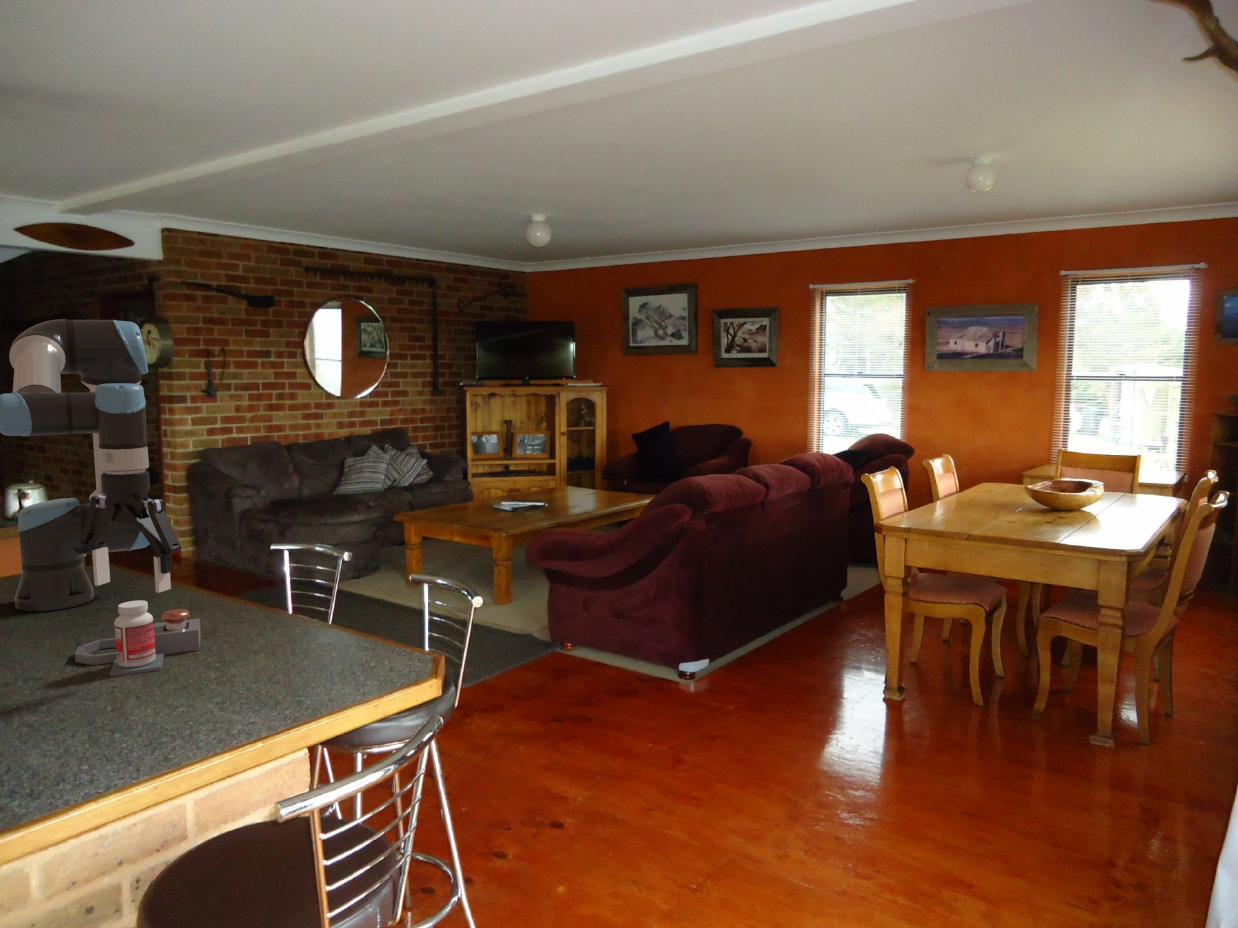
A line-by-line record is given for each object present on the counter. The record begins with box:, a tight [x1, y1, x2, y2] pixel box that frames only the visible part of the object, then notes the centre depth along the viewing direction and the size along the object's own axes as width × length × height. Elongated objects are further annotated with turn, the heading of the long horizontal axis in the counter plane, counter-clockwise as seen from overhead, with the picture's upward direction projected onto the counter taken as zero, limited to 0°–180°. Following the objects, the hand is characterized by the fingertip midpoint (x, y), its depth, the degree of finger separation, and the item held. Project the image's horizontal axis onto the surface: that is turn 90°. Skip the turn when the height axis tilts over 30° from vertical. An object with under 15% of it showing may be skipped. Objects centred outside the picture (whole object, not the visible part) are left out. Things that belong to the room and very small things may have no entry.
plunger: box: [160, 608, 190, 631], centre depth 168 cm, size 5×5×6 cm
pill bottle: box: [113, 599, 156, 667], centre depth 157 cm, size 6×6×11 cm
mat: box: [109, 653, 165, 677], centre depth 158 cm, size 8×8×1 cm
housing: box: [74, 618, 202, 666], centre depth 166 cm, size 10×21×4 cm, turn 114°
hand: (132, 587), depth 157 cm, fingers open, 13 cm apart
